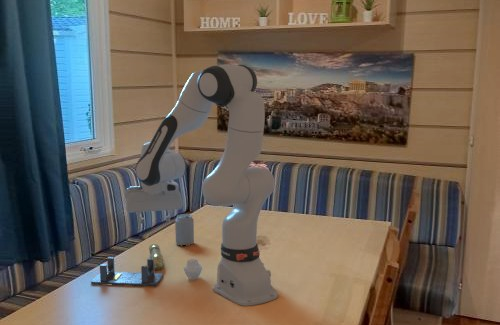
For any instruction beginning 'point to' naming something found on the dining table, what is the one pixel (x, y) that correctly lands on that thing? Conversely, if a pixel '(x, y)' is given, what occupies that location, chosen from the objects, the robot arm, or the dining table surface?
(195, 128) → the robot arm
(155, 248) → the tube
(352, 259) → the dining table surface
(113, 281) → the stand
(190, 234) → the can
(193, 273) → the light grey rounded piece
